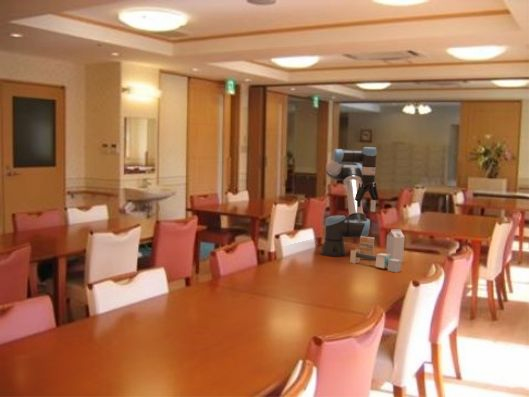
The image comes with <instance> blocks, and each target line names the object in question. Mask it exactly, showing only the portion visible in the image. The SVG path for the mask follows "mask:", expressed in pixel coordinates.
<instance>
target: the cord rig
mask: <svg viewBox="0 0 529 397" xmlns="http://www.w3.org/2000/svg"><path fill="white" fill-rule="evenodd" d="M349 256H350V258H349V259H350V260H349V263H350V264H353V265H354V264H359V263H360V261H361V259H360V258H363V259H362V260H365V259H368V260H367V261H372V262H376V255H373V256H370V255H365V254H360V250H359V249H354V250H353V249H350V255H349ZM385 264H386V265H388V267H387V272H392V273H399V272H401V269H402V262H401V260H398V259H391V258H389V257H387V258H386V260H385Z"/></svg>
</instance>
